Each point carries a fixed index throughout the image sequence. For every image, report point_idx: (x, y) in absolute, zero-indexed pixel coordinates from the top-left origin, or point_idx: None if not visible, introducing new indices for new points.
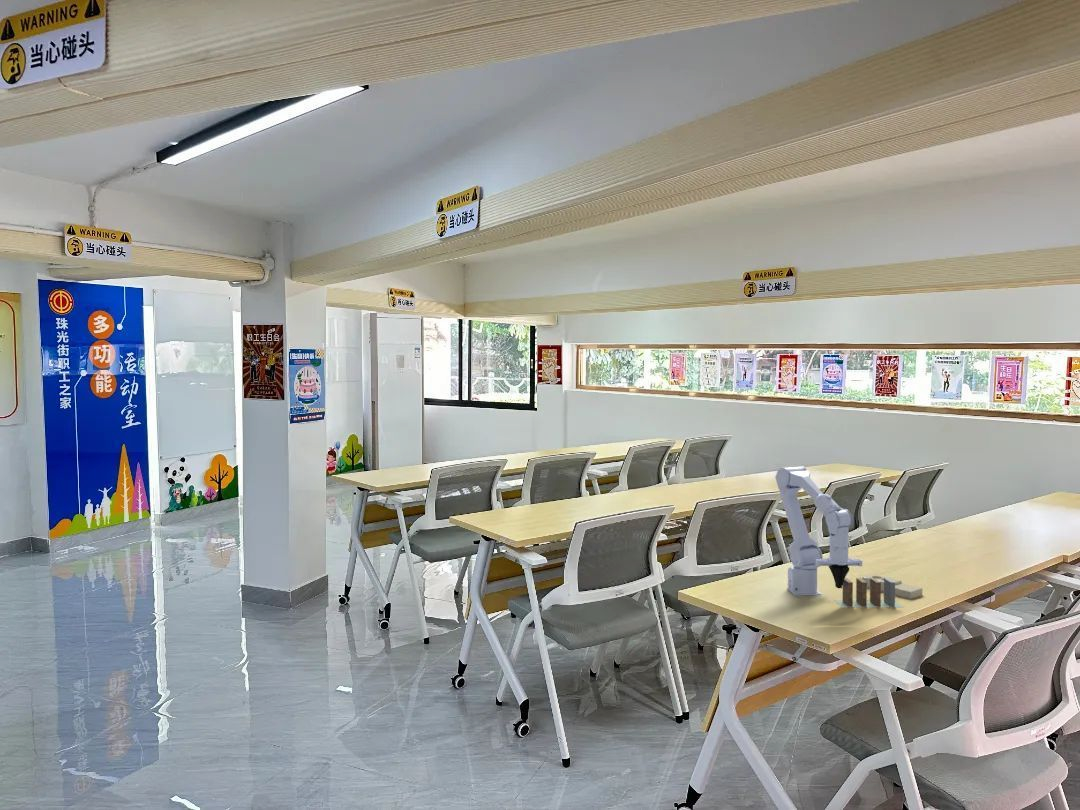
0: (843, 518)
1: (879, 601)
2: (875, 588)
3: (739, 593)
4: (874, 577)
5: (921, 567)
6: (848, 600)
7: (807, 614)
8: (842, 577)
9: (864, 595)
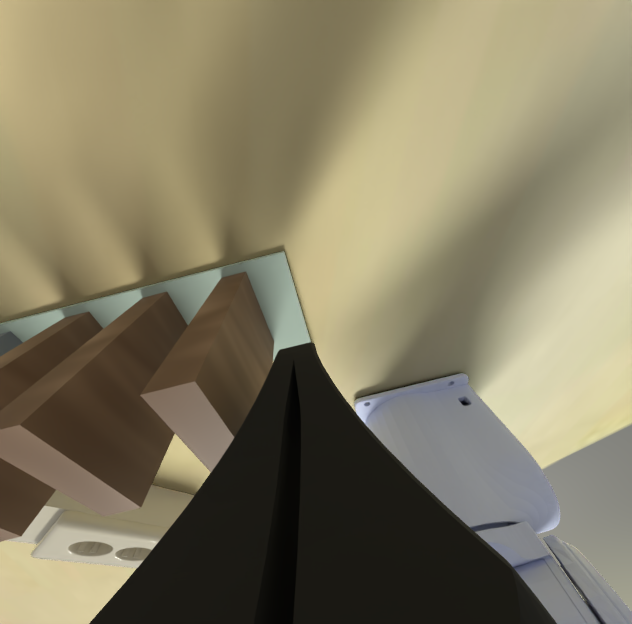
0: None
1: (43, 333)
2: None
3: None
4: (150, 551)
5: (82, 609)
6: (237, 285)
7: (549, 27)
8: (264, 440)
9: (110, 333)
